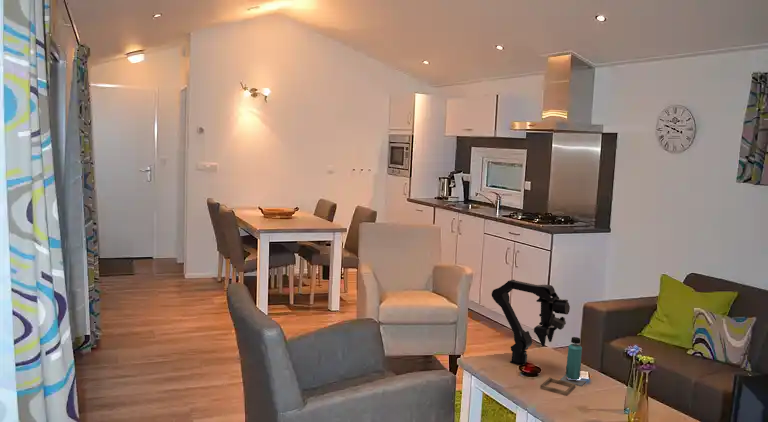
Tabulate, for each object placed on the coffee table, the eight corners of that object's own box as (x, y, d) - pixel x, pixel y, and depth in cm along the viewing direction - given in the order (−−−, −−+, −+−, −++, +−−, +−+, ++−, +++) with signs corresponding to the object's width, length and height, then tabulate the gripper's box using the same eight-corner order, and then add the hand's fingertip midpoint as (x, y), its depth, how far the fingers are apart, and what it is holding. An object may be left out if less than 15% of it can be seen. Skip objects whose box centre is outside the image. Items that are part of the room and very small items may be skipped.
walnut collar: (540, 388, 289) (540, 385, 289) (549, 380, 299) (549, 377, 299) (566, 395, 283) (567, 392, 283) (575, 387, 293) (575, 384, 293)
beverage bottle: (582, 381, 299) (586, 339, 296) (571, 383, 296) (575, 340, 293) (573, 376, 305) (577, 335, 302) (561, 377, 302) (565, 336, 299)
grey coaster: (559, 380, 300) (559, 379, 300) (566, 374, 308) (566, 373, 308) (581, 386, 294) (581, 385, 294) (587, 380, 303) (588, 378, 303)
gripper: (556, 317, 298) (556, 351, 299) (569, 309, 313) (569, 341, 314) (533, 314, 304) (533, 347, 305) (547, 307, 319) (547, 338, 320)
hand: (546, 344), depth 311 cm, fingers open, 9 cm apart
